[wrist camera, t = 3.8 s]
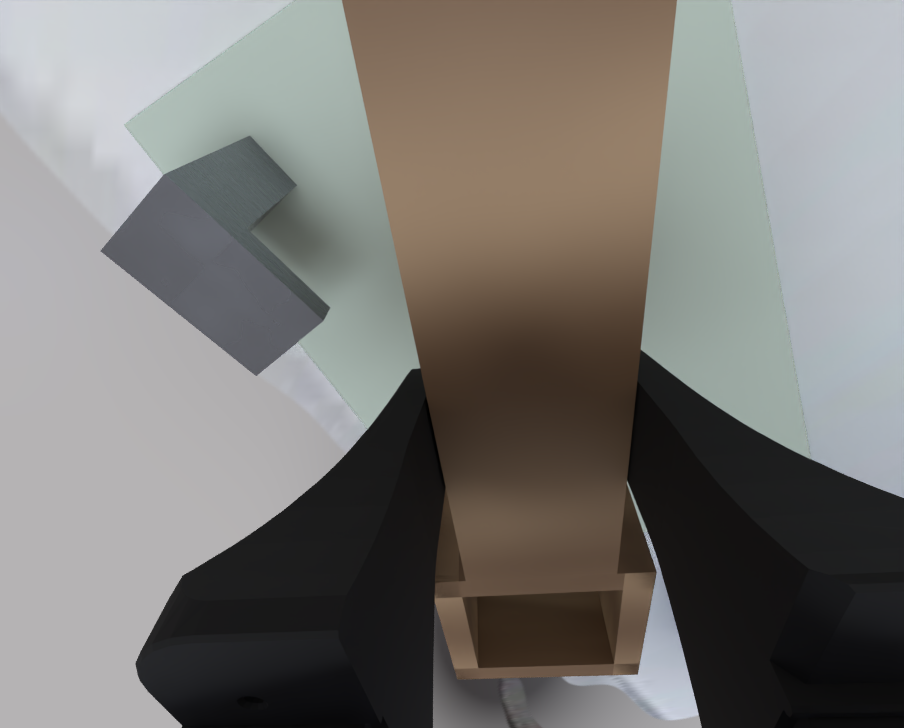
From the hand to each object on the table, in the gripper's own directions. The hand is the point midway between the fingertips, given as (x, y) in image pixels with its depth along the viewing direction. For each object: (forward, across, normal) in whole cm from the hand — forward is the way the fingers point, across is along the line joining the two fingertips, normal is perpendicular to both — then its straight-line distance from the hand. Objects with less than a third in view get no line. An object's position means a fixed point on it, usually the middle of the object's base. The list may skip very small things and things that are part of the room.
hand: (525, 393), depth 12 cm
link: (+2, 0, +1) cm, 2 cm away
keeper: (+8, +8, -3) cm, 11 cm away
